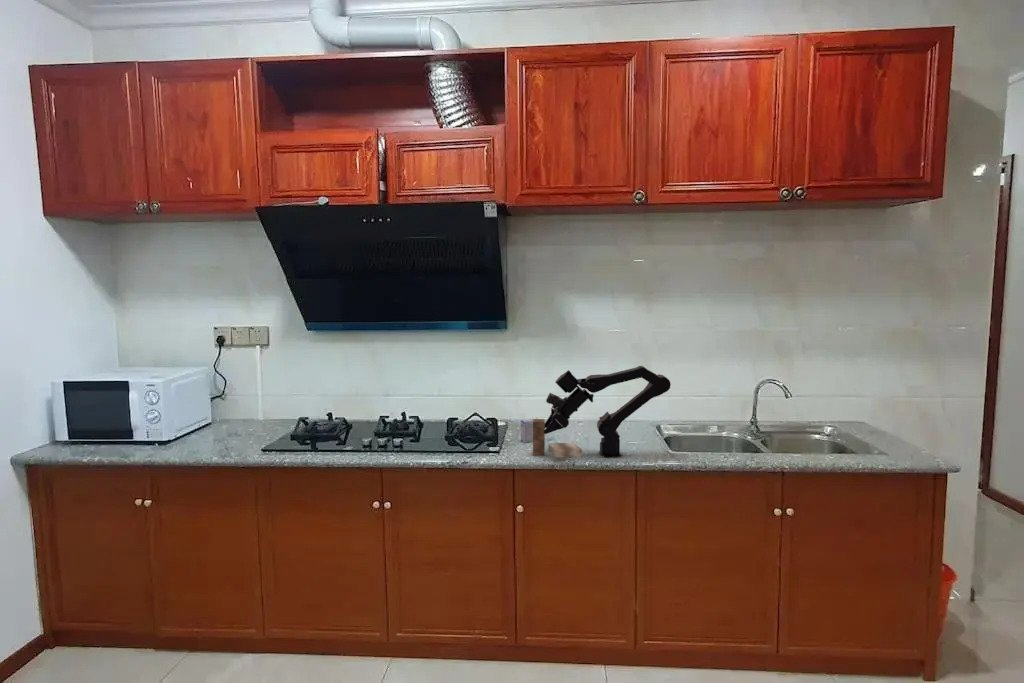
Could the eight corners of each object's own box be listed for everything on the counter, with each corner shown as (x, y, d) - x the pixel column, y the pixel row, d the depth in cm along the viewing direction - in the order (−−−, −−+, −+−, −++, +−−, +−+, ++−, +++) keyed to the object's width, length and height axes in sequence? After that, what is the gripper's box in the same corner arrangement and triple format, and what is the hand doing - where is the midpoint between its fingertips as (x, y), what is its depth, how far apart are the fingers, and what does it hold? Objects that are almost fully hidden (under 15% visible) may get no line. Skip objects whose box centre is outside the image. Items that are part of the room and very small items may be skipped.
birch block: (573, 449, 235) (573, 442, 234) (581, 457, 225) (581, 449, 225) (548, 451, 232) (548, 443, 232) (555, 458, 223) (556, 451, 222)
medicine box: (537, 438, 250) (538, 418, 249) (542, 441, 246) (542, 420, 245) (520, 440, 247) (520, 419, 246) (524, 443, 243) (524, 422, 242)
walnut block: (544, 452, 230) (544, 419, 228) (544, 455, 225) (544, 421, 224) (532, 452, 230) (532, 419, 228) (532, 455, 225) (532, 421, 224)
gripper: (558, 382, 234) (529, 409, 235) (559, 391, 215) (528, 420, 217) (578, 402, 234) (549, 429, 236) (581, 412, 216) (550, 442, 217)
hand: (544, 429), depth 226 cm, fingers open, 9 cm apart
